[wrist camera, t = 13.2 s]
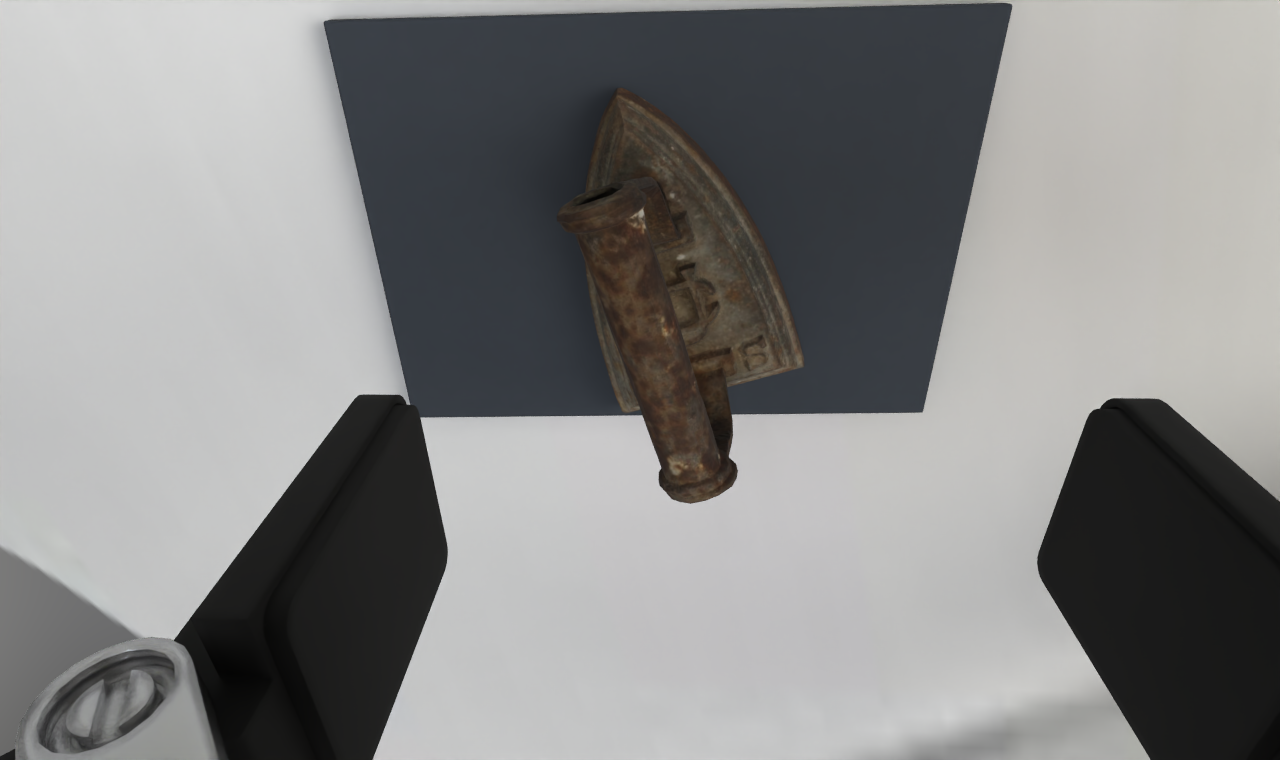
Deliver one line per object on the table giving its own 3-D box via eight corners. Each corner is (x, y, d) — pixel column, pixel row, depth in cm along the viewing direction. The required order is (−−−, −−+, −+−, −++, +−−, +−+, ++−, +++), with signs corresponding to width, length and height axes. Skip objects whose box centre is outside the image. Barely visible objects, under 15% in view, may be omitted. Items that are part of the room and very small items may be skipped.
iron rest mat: (1005, 2, 20) (1014, 3, 20) (918, 404, 28) (923, 413, 27) (330, 19, 21) (321, 20, 20) (417, 409, 28) (412, 418, 28)
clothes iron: (632, 415, 28) (558, 555, 19) (538, 128, 25) (395, 124, 16) (808, 375, 26) (824, 509, 17) (730, 60, 23) (696, 10, 14)
